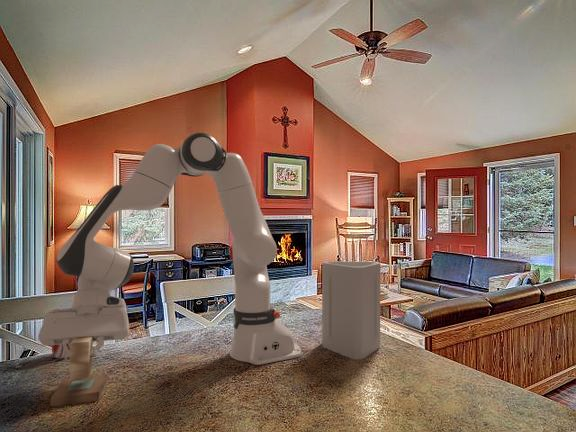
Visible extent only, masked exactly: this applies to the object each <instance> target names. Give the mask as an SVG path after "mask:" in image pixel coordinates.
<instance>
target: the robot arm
mask: <svg viewBox="0 0 576 432" xmlns="http://www.w3.org/2000/svg"><path fill="white" fill-rule="evenodd" d="M205 174H207V175H208V176H209V177H211V179H212V180H213V182H214V183H215V185H216V186H215V187H216V191H217V193H218V197H219V200H220V203H221V206H222V211H223V214H224V218H225V220H226V221H227V224H228V226H229V228H230V231H231V233H232V236H233V239H232V240H233V241H232V243H231V248H232V263H233V266H232V267H233V274H234V277H233V278H234V308H233V315H232V326H233V328H234V329H233V337H232V343H231V347H230V351H229V356H230V358H232V359H234V360H235V361H239V362H243V363H250V364H252V365H254V366H260V365H265V364H269V363H274V362H281V361H285V360H290V359H295V358H299V357H301V355H302V348H301V347H300V346H299V344H297V342H295V340H294V336H293V333H292V331H291V330H290V329H289V328H288V327H287V326H286V325H284V324H283V323H281V322H280V321H279V320H277V319H279V318H280V317H281V313H280V312H279V311H278V310H276V309H274V308H273V307H271V282H270V279H269V273H268V267H267V266H268V265H270V264H271V263H272V262H273V261H274V260H275V259H276V257H277V254H278V247H277V244H276V241H275V240H274V237H273V235H272V233H271V230H270V228H269V226H268V224H267V221H266V219H265V217H264V214H263V212H262V210H261V207H260V203H259V200H258V198H257V195H256V190H255V187H254V184H253V181H252V178H251V176H250V173H249V170H248V167H247V166H246V163H245V162H244V160H243V158H242V157H241V155H240V154H238V153H235V152H227V151H226V150H225V149H224V148H223V147H222V145H220V143H219V142H218V141H217V140H216V139H215V137H213V136H212V135H210V134H208V133H205V132H195V133H193V134H190V135H189V136H188V137H186V138H185V139H184V141H183V142H182V144H181V145H180V146H179V147H172V146H170V145H167V144H165V143H164V144H163V143H155V144H153V145H152V146H151V147H149V148H148V150H147V151H146V152H145V154H144V155H143V156H142V158H141V160H140V161H139V163H138V164H137V166H136V167H135V170H134V171H133V173H132V175H131V177H129V179H128V180H126V182H124V183H122V184H115V185H113V186H112V187H111V188H109V189H108V191H107V192H106V193H105V194H104V195H103V196H102V198H101V199H99V201H98V202H97V204H95V206H94V207H93V209H92V210H91V212H90V213H89V214H88V215H87V216H86V218H85V219H84V220H83V222H82V223H81V225H79V227H78V228H77V229H76V231H75V232H74V233H73V234H72V235H71V237H69V238H68V240H66V241H65V243H64V244H63V245H62V246H61V247H60V249H59V251H58V253H57V257H56V263H57V266H58V268H59V270H60V271H61V272H62V273H63V274H64V275H69V276H74V277H77V279H78V280H77V291H75V293H74V297H73V300H72V301H73V302H72V305H71V308H70V307H69V308H62V309H60V308H58V309H55V308H54V309H52V310H51V311H48V312H47V313H45V315H44V317H43V321H42V325H41V327H40V330H39V333H38V336H37V337H38V341H39V343H40V344H41V345H42V346H43V347H44V346H52V345H59V344H62V345H63V347H64V349H65V356H64V360H65V361H67V360H68V361H70V350H69V349H68V347H70V343H71V341H72V340H73V339H74V338H82V337H93V342H97V343H96V344H95V346H94V347H93V348H91V349H90V358H91V357H92V358H97V357H98V353H99V351H100V350H101V349H102V347H103V346H104V345H105V341H116V340H125V339H127V337H129V334H130V324H129V323H130V322H129V317H128V316H129V315H128V313H127V304H126V302H125V299H123V298H122V297H118V296H112V295H111V292H112V291H113V290H114V291H115V290H117V289H119V288H120V287H123V286H124V285H126V284H127V283H128V282H129V281H130V280H131V278H132V276H133V273H134V268H135V264H134V263H135V262H134V259H133V256H132V255H131V253H128V252H126V251H124V250H121V249H118V248H116V247H113V246H108V245H106V244H104V243H100V242H98V241H95V240H94V238H95V237H96V236H97V235H98V233H99V232H100V230H101V229H102V228H103V226H104V225H105V223H107V221H108V220H109V218H110V217H111V216H112V215H114V214H115V213H117V212H120V211H127V210H129V211H152V210H155V209H157V208H160V207H161V206H162V205H163V204H165V202H166V200H167V199H168V197H169V195H170V193H171V192H172V189H173V187H174V185H175V182H176V181H177V179H178V178H179V176H180V175H182V176H186V177H187V176H189V177H200V176H201V177H202V176H203V175H205Z"/></svg>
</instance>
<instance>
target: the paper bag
mask: <svg viewBox="0 0 576 432" xmlns="http://www.w3.org/2000/svg"><path fill="white" fill-rule="evenodd" d="M321 266H322V267H321V268H322V269H321V270H322V271H321V272H322V275H321V277H322V278H321V286H322V287H321V316H322V317H321V345H322V348H325V349H326V348H327V349H326V350H329V351H331V350H332V352H335V353H336V354H338V353H339V355H341V356H343V357H346V358H348V357H349V359H351V360H364V359H365V358H367V357H368V356H371V354H373V353H375V352H377V350H379V349H380V348H381V262H379V261H354V260H353V261H340V260H339V261H338V260H337V261H336V260H335V261H333V260H331V261H327V260H326V261H324V260H322V265H321ZM378 348H379V349H378Z"/></svg>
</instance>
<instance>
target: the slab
mask: <svg viewBox="0 0 576 432" xmlns="http://www.w3.org/2000/svg"><path fill="white" fill-rule="evenodd" d="M108 383H109V374H108V373H106V374H95V375H91V376H90V377H89V379H85V380H76V381H70V377H67V378H63V380H62V381H61V382H60V384H59V385H58V387H57V388H56V389H55V391H54V392H53V393H52V395H51V397H50V407H54V406H55V407H56V406H65V405H72V404H81V403H89V402H99V401H100V399H101V397H102V396H103V393H104V391H105V389H106V387H107V384H108Z"/></svg>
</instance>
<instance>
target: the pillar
mask: <svg viewBox="0 0 576 432" xmlns="http://www.w3.org/2000/svg"><path fill="white" fill-rule="evenodd" d="M93 345H94V344H93V337H82V338H74V339H73V340H72V341H71V343H70V360H69V378H70V381H76V380H85V379H89V377H90V376H92V374H93V357H91V358H90V349H91V348H94V347H93Z"/></svg>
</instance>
